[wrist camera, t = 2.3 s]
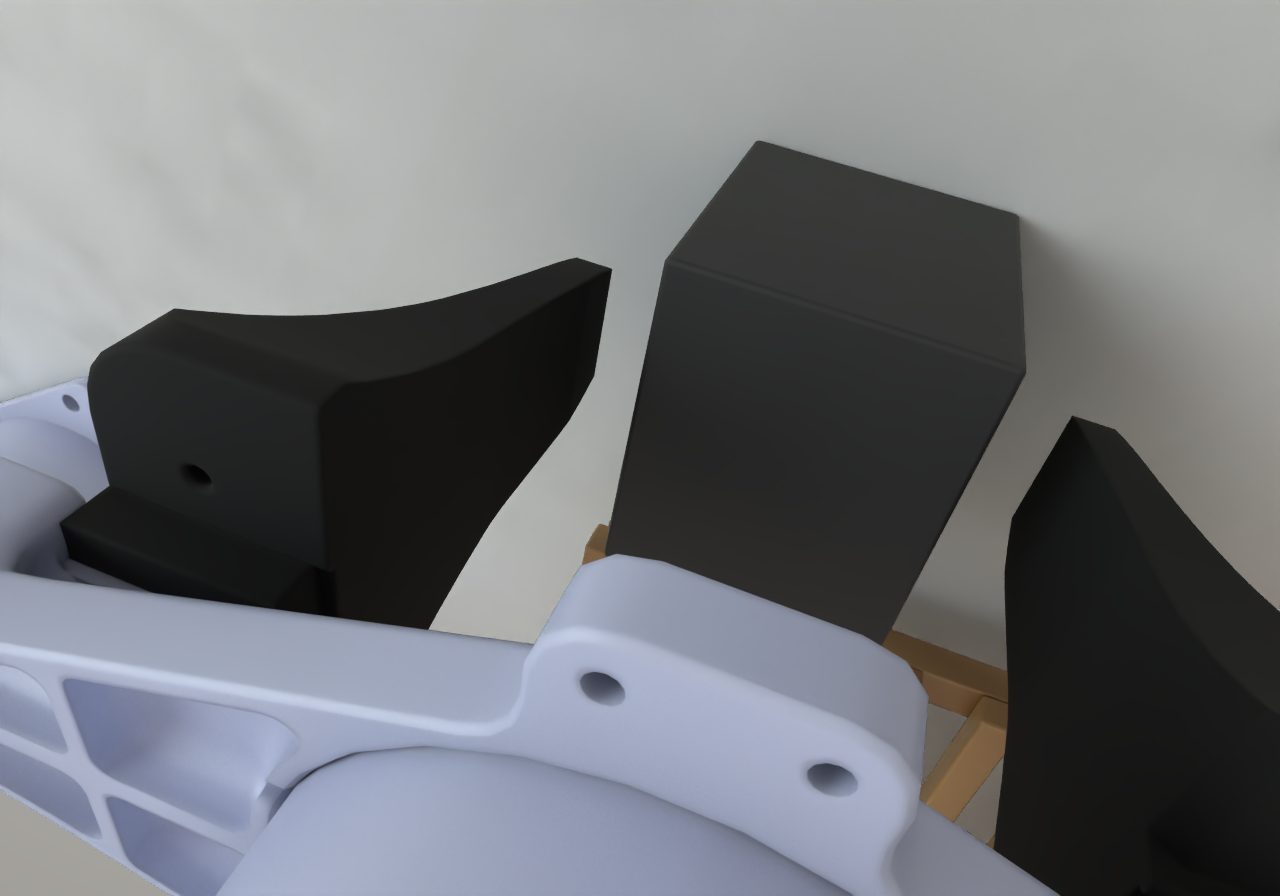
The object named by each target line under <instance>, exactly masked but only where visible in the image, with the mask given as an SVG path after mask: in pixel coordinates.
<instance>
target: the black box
mask: <svg viewBox="0 0 1280 896" xmlns="http://www.w3.org/2000/svg"><path fill="white" fill-rule="evenodd" d="M1025 375H1026V355H1025V334H1024V314H1023V293H1022V272H1021V251H1020V231H1019V217H1018V216H1017V215H1016V214H1013V213H1010V212H1006V211H1003V210H999V209H996V208H992V207H989V206H985V205H982V204H978V203H975V202H971V201H968V200H964V199H961V198H957V197H954V196H950V195H947V194H943V193H940V192H936V191H933V190H929V189H926V188H922V187H919V186H915V185H912V184H908V183H905V182H902V181H898V180H895V179H891V178H888V177H884V176H881V175H877V174H874V173H870V172H867V171H863V170H860V169H856V168H853V167H849V166H846V165H842V164H839V163H835V162H832V161H828V160H825V159H821V158H818V157H814V156H811V155H807V154H804V153H800V152H797V151H793V150H790V149H786V148H783V147H779V146H776V145H772V144H769V143H765V142H762V141H756V142H755V143H754V145H753V146H752V147H751V149H750V150H749V151H748V153H747V154H746V155H745V157H744V158H743V159H742V160H741V162H740V163H739V164H738V166H737V167H736V168H735V170H734V171H733V172H732V174H731V175H730V176H729V178H728V179H727V180H726V181H725V183H724V184H723V185H722V187H721V188H720V189H719V191H718V192H717V193H716V195H715V196H714V197H713V199H712V200H711V201H710V202H709V204H708V205H707V206H706V208H705V209H704V210H703V212H702V213H701V214H700V216H699V217H698V218H697V219H696V221H695V222H694V223H693V225H692V226H691V227H690V229H689V230H688V231H687V233H686V234H685V235H684V237H683V238H682V239H681V240H680V242H679V243H678V244H677V246H676V247H675V248H674V250H673V251H672V252H671V254H670V255H669V256H668V258H667V259H666V260H665V263H664V268H663V273H662V278H661V283H660V287H659V292H658V297H657V302H656V306H655V311H654V316H653V321H652V326H651V330H650V335H649V340H648V345H647V350H646V354H645V359H644V364H643V369H642V374H641V378H640V383H639V388H638V393H637V397H636V402H635V407H634V412H633V417H632V421H631V426H630V431H629V436H628V441H627V445H626V450H625V455H624V460H623V464H622V469H621V474H620V479H619V484H618V488H617V493H616V498H615V503H614V508H613V512H612V517H611V522H610V527H609V532H608V536H607V541H606V546H605V551H604V552H605V556H606V557H608V556H612V555H615V554H621V555H627V556H633V557H639V558H645V559H652V560H658V561H663V562H666V563H669V564H671V565H674V566H677V567H679V568H682V569H685V570H688V571H690V572H693V573H696V574H698V575H701V576H704V577H707V578H709V579H712V580H715V581H717V582H720V583H723V584H725V585H728V586H731V587H734V588H736V589H739V590H742V591H744V592H747V593H750V594H753V595H755V596H758V597H761V598H763V599H766V600H769V601H772V602H774V603H777V604H780V605H782V606H785V607H788V608H791V609H793V610H796V611H799V612H801V613H804V614H807V615H809V616H812V617H815V618H818V619H820V620H823V621H826V622H828V623H831V624H834V625H837V626H839V627H842V628H845V629H847V630H850V631H853V632H856V633H858V634H861V635H864V636H865V637H867V638H869V639H870V640H872V641H874V642H875V643H877V644H879V645H880V646H882V645H883V643H884V641H885V639H886V637H887V635H888V633H889V632H890V630H891V628H892V626H893V624H894V622H895V620H896V618H897V616H898V615H899V613H900V611H901V609H902V607H903V605H904V603H905V601H906V599H907V598H908V596H909V594H910V592H911V590H912V588H913V586H914V584H915V582H916V581H917V579H918V577H919V575H920V573H921V571H922V569H923V567H924V565H925V564H926V562H927V560H928V558H929V556H930V554H931V552H932V550H933V548H934V547H935V545H936V543H937V541H938V539H939V537H940V535H941V533H942V532H943V530H944V528H945V526H946V524H947V522H948V520H949V518H950V516H951V515H952V513H953V511H954V509H955V507H956V505H957V503H958V501H959V499H960V498H961V496H962V494H963V492H964V490H965V488H966V486H967V484H968V482H969V481H970V479H971V477H972V475H973V473H974V471H975V469H976V467H977V465H978V464H979V462H980V460H981V458H982V456H983V454H984V452H985V450H986V448H987V447H988V445H989V443H990V441H991V439H992V437H993V435H994V433H995V431H996V430H997V428H998V426H999V424H1000V422H1001V420H1002V418H1003V416H1004V414H1005V413H1006V411H1007V409H1008V407H1009V405H1010V403H1011V401H1012V399H1013V397H1014V396H1015V394H1016V392H1017V390H1018V388H1019V386H1020V384H1021V382H1022V380H1023V379H1024V377H1025Z"/></svg>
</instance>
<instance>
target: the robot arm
mask: <svg viewBox="0 0 1280 896" xmlns="http://www.w3.org/2000/svg"><path fill="white" fill-rule="evenodd" d="M611 273H612V269H611V268H608V267H605V266H601V265H598V264H595V263H592V262H589V261H586V260H583V259H579V258H573V259H568V260H565V261H561V262H558V263H555V264H552V265H549V266H546V267H543V268H540V269H537V270H534V271H531V272H528V273H525V274H522V275H519V276H516V277H513V278H510V279H507V280H504V281H501V282H498V283H495V284H492V285H489V286H486V287H482V288H478V289H475V290H471V291H468V292H464V293H460V294H457V295H453V296H450V297H446V298H442V299H438V300H434V301H429V302H424V303H419V304H414V305H408V306H402V307H396V308H391V309H384V310H376V311H364V312H353V313H341V314H330V315H303V316H273V315H243V314H231V313H218V312H206V311H194V310H184V309H173V310H171V311H169V312H168V313H166V314H164V315H163V316H161V317H159V318H158V319H156V320H154V321H153V322H151V323H149V324H147V325H146V326H144V327H142V328H141V329H139V330H137V331H136V332H134V333H132V334H131V335H129V336H127V337H126V338H124V339H122V340H121V341H119V342H117V343H116V344H114V345H112V346H110V347H109V348H107V349H105V350H104V351H102V352H101V353H100V354H99V356H98V357H97V358H96V360H95V361H94V362H93V364H92V365H91V367H90V372H89V377H88V378H86V377H81V378H78V379H74V380H71V381H68V382H65V383H62V384H58V385H55V386H52V387H49V388H46V389H42V390H39V391H36V392H33V393H30V394H26V395H23V396H20V397H17V398H14V399H11V400H7V401H4V402H1V403H0V790H2V791H3V792H5V793H6V794H8V795H10V796H11V797H13V798H15V799H17V800H18V801H20V802H21V803H23V804H25V805H27V806H28V807H30V808H31V809H33V810H35V811H37V812H38V813H40V814H41V815H43V816H45V817H46V818H48V819H50V820H51V821H53V822H55V823H56V824H58V825H59V826H61V827H63V828H64V829H66V830H67V831H69V832H70V833H72V834H74V835H75V836H77V837H78V838H80V839H82V840H83V841H85V842H86V843H88V844H90V845H91V846H93V847H94V848H96V849H97V850H99V851H101V852H102V853H104V854H105V855H107V856H109V857H110V858H112V859H113V860H115V861H117V862H118V863H120V864H121V865H123V866H124V867H126V868H128V869H129V870H131V871H132V872H134V873H136V874H137V875H139V876H140V877H142V878H144V879H145V880H147V881H148V882H150V883H151V884H153V885H155V886H157V887H158V888H159V889H161V890H163V891H164V892H166V893H167V894H169V895H171V896H1280V612H1279V611H1278V610H1277V609H1276V608H1275V607H1274V606H1273V605H1271V604H1270V603H1269V602H1268V601H1267V600H1266V599H1265V598H1264V597H1263V596H1262V595H1261V594H1260V593H1258V592H1257V591H1256V590H1255V589H1254V588H1253V587H1252V586H1251V585H1250V584H1249V583H1248V582H1247V581H1246V580H1245V579H1244V578H1243V577H1242V576H1241V575H1240V574H1239V573H1238V572H1237V571H1236V570H1235V569H1234V568H1233V567H1232V566H1231V565H1230V564H1229V563H1228V562H1227V560H1226V559H1225V558H1224V557H1223V556H1222V555H1221V554H1220V553H1219V552H1218V551H1217V550H1216V549H1215V547H1214V546H1213V545H1212V544H1211V543H1210V542H1209V541H1208V540H1207V539H1206V538H1205V536H1204V535H1203V534H1202V533H1201V532H1200V531H1199V530H1198V528H1197V527H1196V526H1195V525H1194V524H1193V523H1192V521H1191V520H1190V519H1189V518H1188V517H1187V515H1186V514H1185V513H1184V512H1183V511H1182V509H1181V508H1180V507H1179V506H1178V504H1177V503H1176V502H1175V501H1174V500H1173V498H1172V497H1171V496H1170V495H1169V493H1168V492H1167V491H1166V490H1165V488H1164V487H1163V486H1162V485H1161V483H1160V482H1159V481H1158V480H1157V478H1156V477H1155V476H1154V474H1153V473H1152V472H1151V471H1150V469H1149V468H1148V467H1147V466H1146V464H1145V463H1144V462H1143V461H1142V459H1141V458H1140V457H1139V456H1138V454H1137V453H1136V452H1135V451H1134V449H1133V448H1132V447H1131V446H1130V445H1129V444H1128V442H1127V441H1126V440H1125V439H1124V438H1123V437H1122V436H1121V435H1120V434H1119V433H1118V432H1117V431H1116V430H1115V429H1112V428H1109V427H1106V426H1103V425H1100V424H1097V423H1094V422H1091V421H1087V420H1084V419H1081V418H1078V417H1075V416H1072V417H1071V419H1070V420H1069V422H1068V424H1067V425H1066V427H1065V429H1064V431H1063V432H1062V434H1061V436H1060V437H1059V439H1058V441H1057V442H1056V444H1055V446H1054V447H1053V449H1052V451H1051V453H1050V454H1049V456H1048V458H1047V459H1046V461H1045V463H1044V464H1043V466H1042V468H1041V470H1040V471H1039V473H1038V475H1037V476H1036V478H1035V480H1034V481H1033V483H1032V485H1031V486H1030V488H1029V490H1028V492H1027V493H1026V495H1025V497H1024V498H1023V500H1022V502H1021V503H1020V505H1019V507H1018V509H1017V510H1016V512H1015V514H1014V515H1013V517H1012V521H1011V527H1010V534H1009V541H1008V547H1007V556H1006V564H1005V619H1006V647H1007V675H1008V722H1007V733H1006V743H1005V753H1004V764H1003V774H1002V783H1001V791H1000V799H999V808H998V816H997V824H996V832H995V840H994V846H993V849H992V848H990V847H989V846H987V845H986V844H984V843H983V842H981V841H980V840H978V839H977V838H975V837H974V836H973V835H971V834H970V833H968V832H967V831H965V830H964V829H962V828H961V827H959V826H958V825H956V824H955V823H953V822H952V821H951V820H949V819H948V818H946V817H945V816H943V815H942V814H940V813H939V812H937V811H936V810H934V809H933V808H932V807H930V806H929V805H927V804H926V803H924V802H923V801H921V800H920V799H919V795H920V789H921V781H922V769H923V758H924V746H925V735H926V723H927V711H928V700H929V696H928V694H927V693H926V691H925V689H924V688H923V686H922V685H921V683H920V681H919V680H918V678H917V677H916V675H915V674H914V672H913V670H912V669H911V667H910V666H909V664H908V663H907V661H905V660H904V659H902V658H900V657H899V656H897V655H895V654H894V653H892V652H890V651H889V650H887V649H885V648H884V647H882V646H880V645H879V644H877V643H875V642H874V641H872V640H870V639H869V638H867V637H865V636H864V635H861V634H858V633H856V632H853V631H850V630H847V629H845V628H842V627H839V626H837V625H834V624H831V623H828V622H826V621H823V620H820V619H818V618H815V617H812V616H809V615H807V614H804V613H801V612H799V611H796V610H793V609H791V608H788V607H785V606H782V605H780V604H777V603H774V602H772V601H769V600H766V599H763V598H761V597H758V596H755V595H753V594H750V593H747V592H744V591H742V590H739V589H736V588H734V587H731V586H728V585H725V584H723V583H720V582H717V581H715V580H712V579H709V578H707V577H704V576H701V575H698V574H696V573H693V572H690V571H688V570H685V569H682V568H679V567H677V566H674V565H671V564H669V563H666V562H663V561H658V560H652V559H645V558H639V557H633V556H627V555H621V554H615V555H612V556H608V557H605V558H602V559H599V560H596V561H593V562H590V563H587V564H584V565H581V566H580V568H579V569H578V571H577V572H576V574H575V575H574V577H573V579H572V580H571V582H570V583H569V585H568V587H567V588H566V590H565V591H564V593H563V595H562V597H561V598H560V600H559V602H558V604H557V605H556V607H555V609H554V611H553V612H552V614H551V616H550V618H549V619H548V621H547V623H546V625H545V626H544V628H543V630H542V632H541V633H540V635H539V637H538V639H537V640H536V642H535V644H529V643H522V642H514V641H507V640H499V639H492V638H484V637H477V636H470V635H462V634H455V633H447V632H440V631H432V630H428V629H429V627H430V625H431V624H432V622H433V620H434V618H435V616H436V614H437V613H438V611H439V609H440V607H441V606H442V604H443V602H444V600H445V599H446V597H447V595H448V593H449V592H450V590H451V588H452V586H453V585H454V583H455V581H456V579H457V578H458V576H459V574H460V572H461V571H462V569H463V567H464V566H465V564H466V562H467V561H468V559H469V557H470V556H471V554H472V552H473V551H474V549H475V547H476V546H477V544H478V543H479V541H480V539H481V538H482V536H483V534H484V533H485V531H486V529H487V528H488V526H489V525H490V523H491V522H492V520H493V519H494V518H495V516H496V515H497V513H498V512H499V510H500V509H501V508H502V506H503V505H504V504H505V502H506V501H507V500H508V499H509V497H510V496H511V495H512V493H513V492H514V491H515V490H516V488H517V487H518V486H519V485H520V483H521V482H522V481H523V480H524V478H525V477H526V476H527V474H528V473H529V472H530V471H531V469H532V468H533V467H534V466H535V464H536V463H537V462H538V460H539V459H540V458H541V457H542V455H543V454H544V453H545V452H546V450H547V449H548V448H549V446H550V445H551V444H552V442H553V441H554V440H555V439H556V437H557V436H558V435H559V433H560V432H561V431H562V430H563V428H564V427H565V426H566V424H567V423H568V422H569V420H570V418H571V417H572V415H573V413H574V411H575V410H576V408H577V406H578V405H579V403H580V401H581V399H582V397H583V396H584V394H585V392H586V390H587V388H588V386H589V385H590V383H591V381H592V379H593V377H594V374H595V368H596V362H597V356H598V350H599V344H600V338H601V332H602V326H603V320H604V314H605V309H606V303H607V297H608V291H609V285H610V279H611Z"/></svg>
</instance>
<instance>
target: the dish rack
mask: <svg viewBox="0 0 1280 896" xmlns="http://www.w3.org/2000/svg"><path fill="white" fill-rule="evenodd" d="M610 522H611V520H610ZM610 522H609V526H606V525H603V524H599V525H598V526H597V527H596V529H595V531H594V533H593V534H592V536H591V538H590V540H589V541H588V543H587V545H586V547H585V552H584V558H583V563H582V565H584V564H587V563H590V562H593V561H596V560H599V559H602V558H605V557H606V556H605V552H604V551H605V546H606V541H607V536H608V532H609V527H610ZM882 647H884V648H885V649H887V650H889V651H890V652H892V653H894V654H895V655H897V656H899V657H900V658H902V659H904V660H905V661H907V663H908V664H909V666H910V667H911V669H912V670H913V672H914V674H915V675H916V677H917V678H918V680H919V681H920V683H921V685H922V686H923V688H924V689H925V691H926V693H927V694H928V696H929V700H928V702H929V703H931V704H934V705H937V706H939V707H942V708H945V709H947V710H950V711H953V712H955V713H958V714H961V715H963V716H966V717H968V718H967V720H966V721H965V723H964V724H963V726H962V727H961V729H960V730H959V732H958V733H957V735H956V736H955V738H954V739H953V741H952V742H951V744H950V745H949V746H948V748H947V749H946V751H945V752H944V754H943V755H942V757H941V758H940V760H939V761H938V763H937V764H936V766H935V767H934V769H933V770H932V772H931V773H930V775H929V776H928V778H927V779H926V781H925V782H924V784H923V785H922V787H921V789H920V795H919V799H920V800H921V801H923V802H924V803H926V804H927V805H929V806H930V807H932V808H933V809H934V810H936V811H937V812H939V813H940V814H942V815H943V816H945V817H946V818H948V819H949V820H951V821H952V822H954V821H955V820H956V818H957V817H958V816H959V814H960V813H961V812H962V810H963V809H964V808H965V806H966V805H967V804H968V802H969V801H970V800H971V798H972V797H973V796H974V794H975V793H976V792H977V790H978V789H979V788H980V786H981V785H982V784H983V782H984V781H985V780H986V778H987V777H988V776H989V774H990V773H991V772H992V770H993V769H994V768H995V766H996V765H997V764H998V762H999V761H1000V760H1001V758H1002V757H1003V756H1004V753H1005V743H1006V733H1007V722H1008V675H1007V671H1004V670H1001V669H999V668H996V667H993V666H991V665H988V664H985V663H982V662H980V661H977V660H974V659H971V658H969V657H966V656H963V655H960V654H958V653H955V652H952V651H949V650H947V649H944V648H941V647H938V646H936V645H933V644H930V643H927V642H925V641H922V640H919V639H916V638H914V637H911V636H908V635H905V634H903V633H900V632H897V631H894V630H892V629H891V630H890V632H889V633H888V635H887V637H886V639H885V641H884V643H883V645H882ZM994 840H995V835H994V836H993V837H992V838H991V840H990V841H989V842H988V843H987V844H986V845H987V846H989V847H990V848H992V849H993V846H994Z"/></svg>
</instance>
